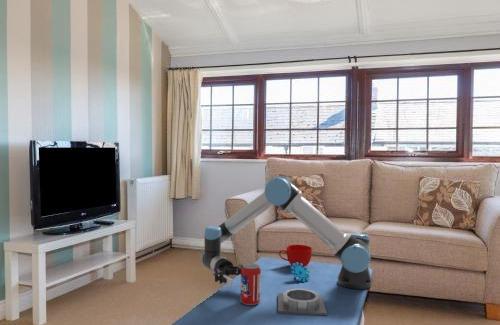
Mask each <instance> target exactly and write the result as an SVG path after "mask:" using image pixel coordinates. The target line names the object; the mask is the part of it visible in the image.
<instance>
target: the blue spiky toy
mask: <svg viewBox="0 0 500 325" xmlns="http://www.w3.org/2000/svg"><path fill="white" fill-rule="evenodd" d="M295 264H296V266H295ZM298 264H299V263H298V262H296V263H293V264H292V266H290V270H291V271H290V273H291V274H292V275H293V278H294V279H296V278H297V281H298V282H302V283H305V282H307V281H309V278H310V277H311V275H310V273H311V269H308V268H307V266H305V267H301V266H303V264H302V263H301V264H300V266H298ZM307 269H308V270H307Z"/></svg>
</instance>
